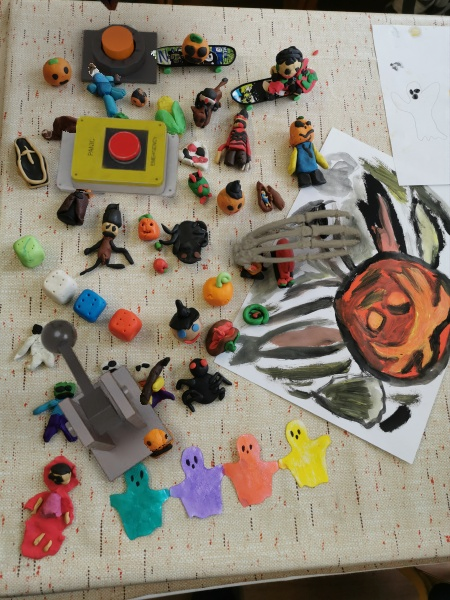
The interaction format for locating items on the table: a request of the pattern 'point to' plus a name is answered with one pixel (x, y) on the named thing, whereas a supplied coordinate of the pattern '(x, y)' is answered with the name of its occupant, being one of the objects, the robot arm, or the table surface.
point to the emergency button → (119, 157)
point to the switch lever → (80, 375)
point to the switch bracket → (122, 437)
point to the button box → (131, 69)
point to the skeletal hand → (249, 252)
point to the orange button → (117, 42)
